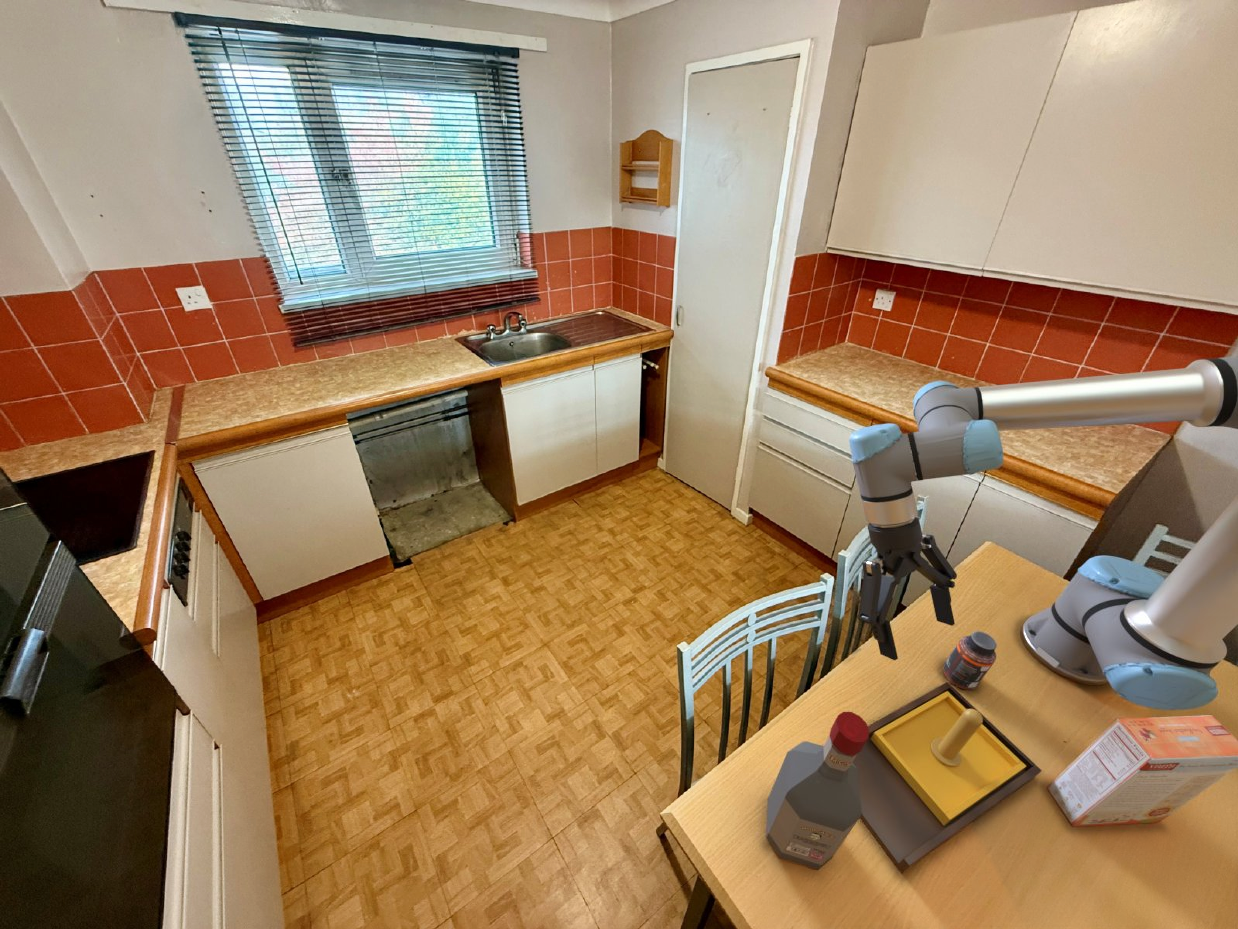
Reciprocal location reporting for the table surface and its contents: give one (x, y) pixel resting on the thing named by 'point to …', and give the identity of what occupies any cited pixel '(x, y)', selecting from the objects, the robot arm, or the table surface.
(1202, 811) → the table surface
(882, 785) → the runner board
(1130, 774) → the cracker box
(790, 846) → the liquor
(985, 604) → the table surface
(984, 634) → the supplement bottle
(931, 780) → the tray
